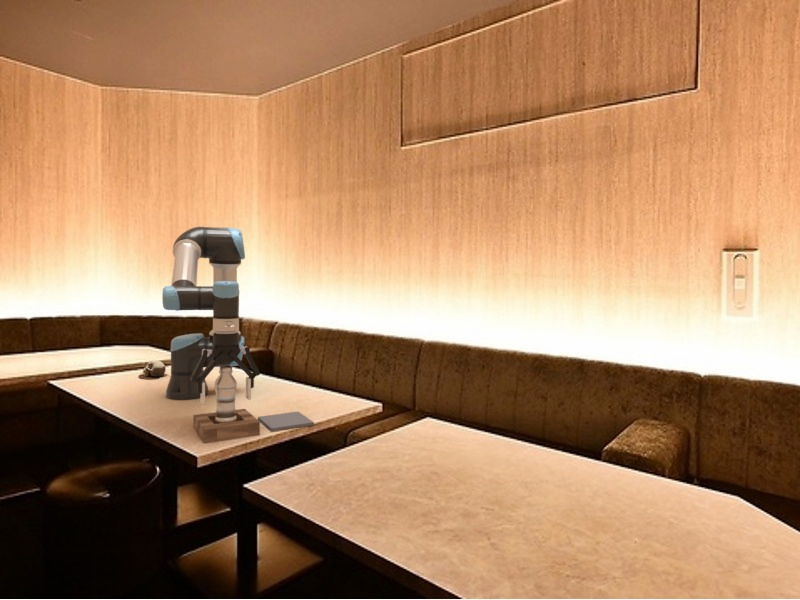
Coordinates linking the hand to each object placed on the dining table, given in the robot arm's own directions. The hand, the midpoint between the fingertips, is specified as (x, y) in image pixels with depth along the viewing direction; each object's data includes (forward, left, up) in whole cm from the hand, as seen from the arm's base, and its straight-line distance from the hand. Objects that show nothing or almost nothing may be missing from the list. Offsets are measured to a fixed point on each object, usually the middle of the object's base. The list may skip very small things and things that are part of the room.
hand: (226, 401), depth 162 cm
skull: (-91, -9, -10) cm, 92 cm away
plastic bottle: (0, 0, -10) cm, 10 cm away
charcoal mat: (0, +19, -9) cm, 21 cm away
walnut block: (0, 0, -9) cm, 9 cm away
